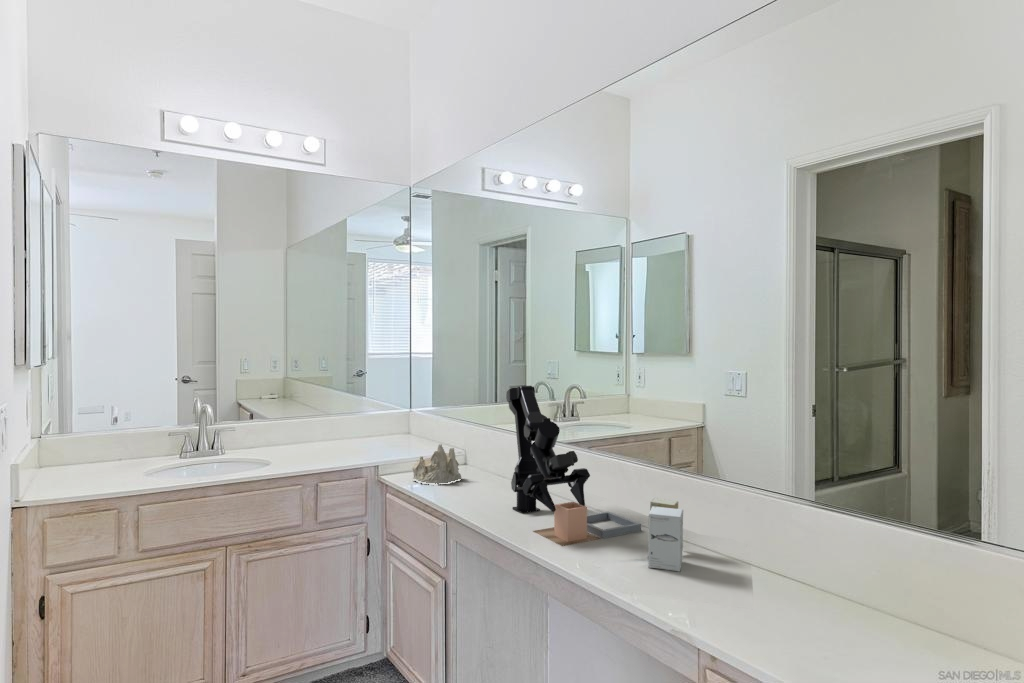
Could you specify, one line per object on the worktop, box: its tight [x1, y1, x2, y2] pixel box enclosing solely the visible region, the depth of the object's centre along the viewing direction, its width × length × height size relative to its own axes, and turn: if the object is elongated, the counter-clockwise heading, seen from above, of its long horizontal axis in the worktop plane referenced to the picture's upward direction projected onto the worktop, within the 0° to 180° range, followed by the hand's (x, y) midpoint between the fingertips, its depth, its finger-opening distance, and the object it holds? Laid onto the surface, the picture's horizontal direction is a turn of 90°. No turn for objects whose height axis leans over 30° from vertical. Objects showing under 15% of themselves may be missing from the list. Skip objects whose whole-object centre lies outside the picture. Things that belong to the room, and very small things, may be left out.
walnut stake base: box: [532, 527, 602, 547], centre depth 161 cm, size 14×12×8 cm
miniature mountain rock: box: [411, 443, 462, 484], centre depth 231 cm, size 16×16×15 cm
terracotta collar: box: [553, 501, 588, 542], centre depth 159 cm, size 8×6×8 cm
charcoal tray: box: [587, 511, 642, 539], centre depth 167 cm, size 14×13×3 cm
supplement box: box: [647, 506, 684, 573], centre depth 143 cm, size 7×7×13 cm
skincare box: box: [649, 497, 679, 512], centre depth 153 cm, size 6×4×12 cm
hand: (569, 508), depth 159 cm, fingers open, 9 cm apart
